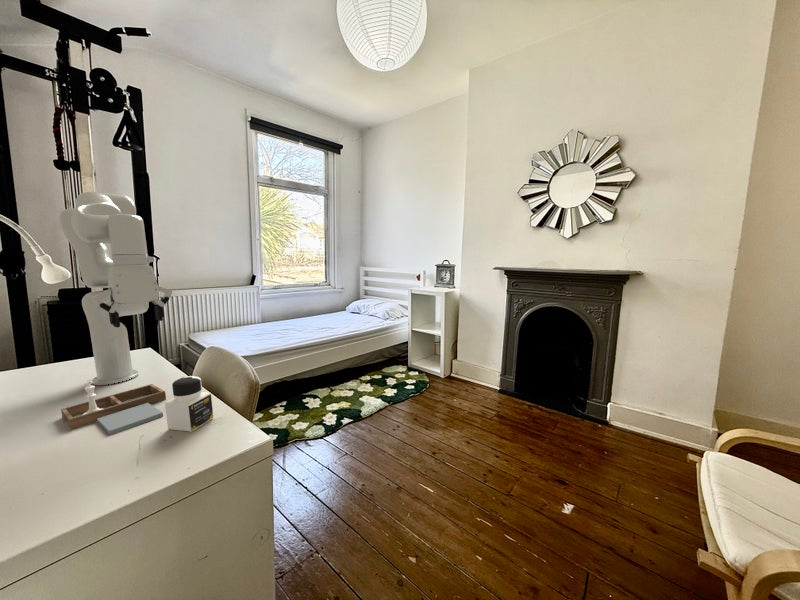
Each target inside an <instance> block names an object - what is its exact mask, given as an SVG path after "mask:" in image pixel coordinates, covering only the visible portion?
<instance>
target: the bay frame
mask: <svg viewBox="0 0 800 600" xmlns="http://www.w3.org/2000/svg"><path fill="white" fill-rule="evenodd" d="M149 392H151V393H149ZM147 393H148V394H149V395H148V394H147ZM152 393H153V394H152ZM144 394H145V395H144ZM141 395H142V397H141ZM166 395H167V393H166V391H165V390H164V389H162V388H160V387H158V386H156V385H154V384H153V383H150V384H147V385H142V386H139V387H136V388H132V389H128V390H125V391H121V392H118V393H114V394H111V395H107V396H104V397H99V398H97V399H96V398H95V399H94V400H95V403H96V405H97V408H99V409H101V410H98V411H95V412H91V413H88V414H85V415H83V414H84V413H86V412H88V410H89V400H88V401H85V402H83V403H79V404H74V405H71V406H68V407H64V408H61V409H60V412H61V418H62V419H63V421H64V423H66V425H67V426H68V427H69V428H70V429H71V430H73V429H77V428H81V427H83V426H86V425H89V424H93V423H96V422H97V418H100V417H103V416H106V415H110V414H113V413H116V412H119V411H122V410H126V409H129V408H132V407H135V406H138V405H142V404H145V403H149V404H151V405H153V404H155V402H156V403H159V402H161V400H162V401H165V400H167V398H166V397H167V396H166ZM137 397H139V398H137ZM131 399H132V400H131ZM164 399H165V400H164ZM127 400H128V401H127ZM158 401H159V402H158ZM152 403H153V404H152ZM106 406H107V407H106ZM108 406H109V407H108ZM105 407H106V408H105ZM80 414H82V415H80ZM78 415H79V416H78ZM73 416H75V417H73Z"/></svg>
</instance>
